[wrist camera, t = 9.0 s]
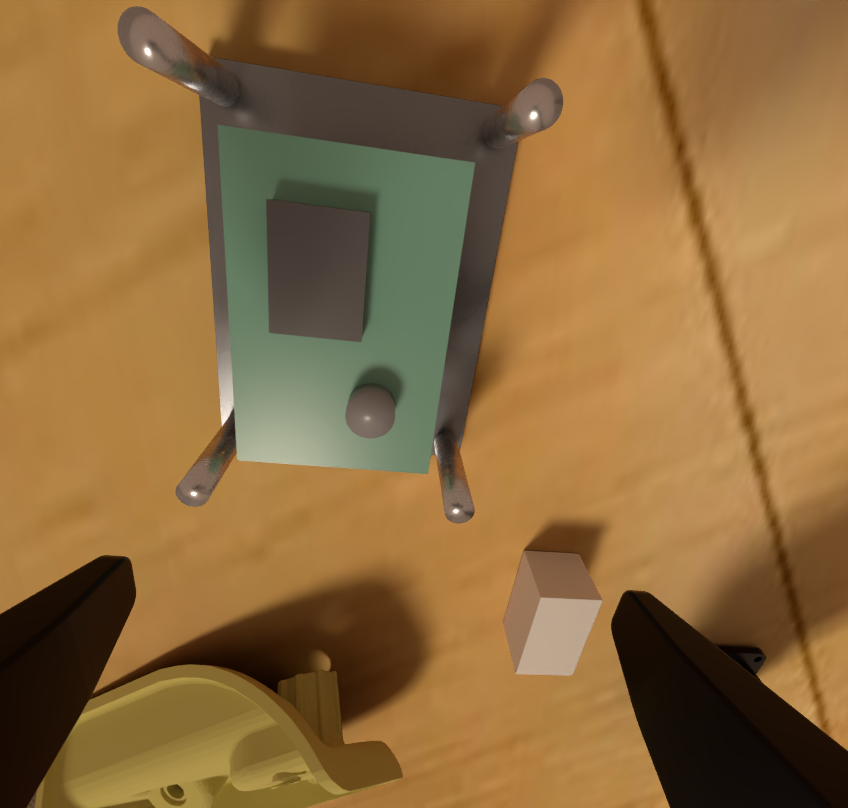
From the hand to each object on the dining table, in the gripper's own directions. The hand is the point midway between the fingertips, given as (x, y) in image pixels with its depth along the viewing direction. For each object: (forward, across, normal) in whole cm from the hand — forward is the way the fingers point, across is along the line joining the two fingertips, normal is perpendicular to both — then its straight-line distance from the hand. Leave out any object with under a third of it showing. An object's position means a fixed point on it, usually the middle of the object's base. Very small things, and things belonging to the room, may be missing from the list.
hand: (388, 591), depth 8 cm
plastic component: (+12, +7, +24) cm, 28 cm away
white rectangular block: (+12, -9, +12) cm, 19 cm away
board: (+8, +2, -3) cm, 9 cm away
